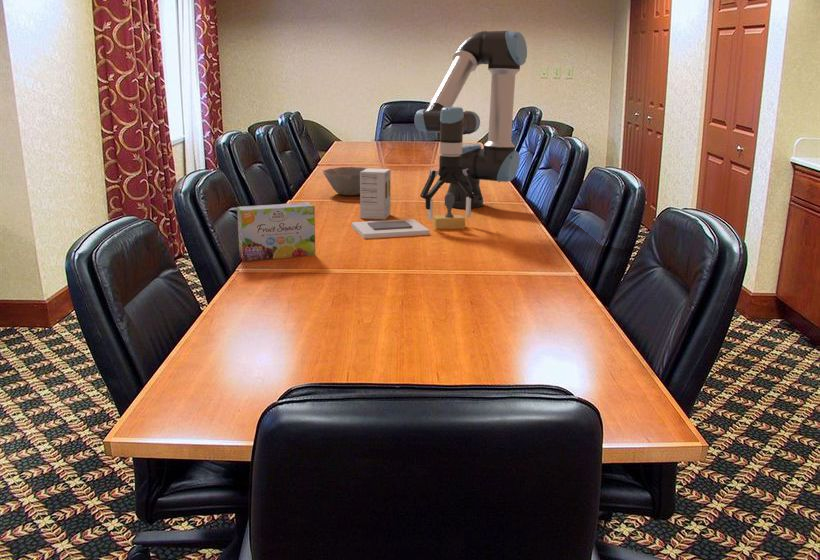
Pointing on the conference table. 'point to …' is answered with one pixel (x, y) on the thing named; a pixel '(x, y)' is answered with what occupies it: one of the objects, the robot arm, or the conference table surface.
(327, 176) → the ceramic bowl
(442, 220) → the rubber stamp
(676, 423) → the conference table surface
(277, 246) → the snack box
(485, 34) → the robot arm
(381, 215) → the supplement box
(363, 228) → the pad
